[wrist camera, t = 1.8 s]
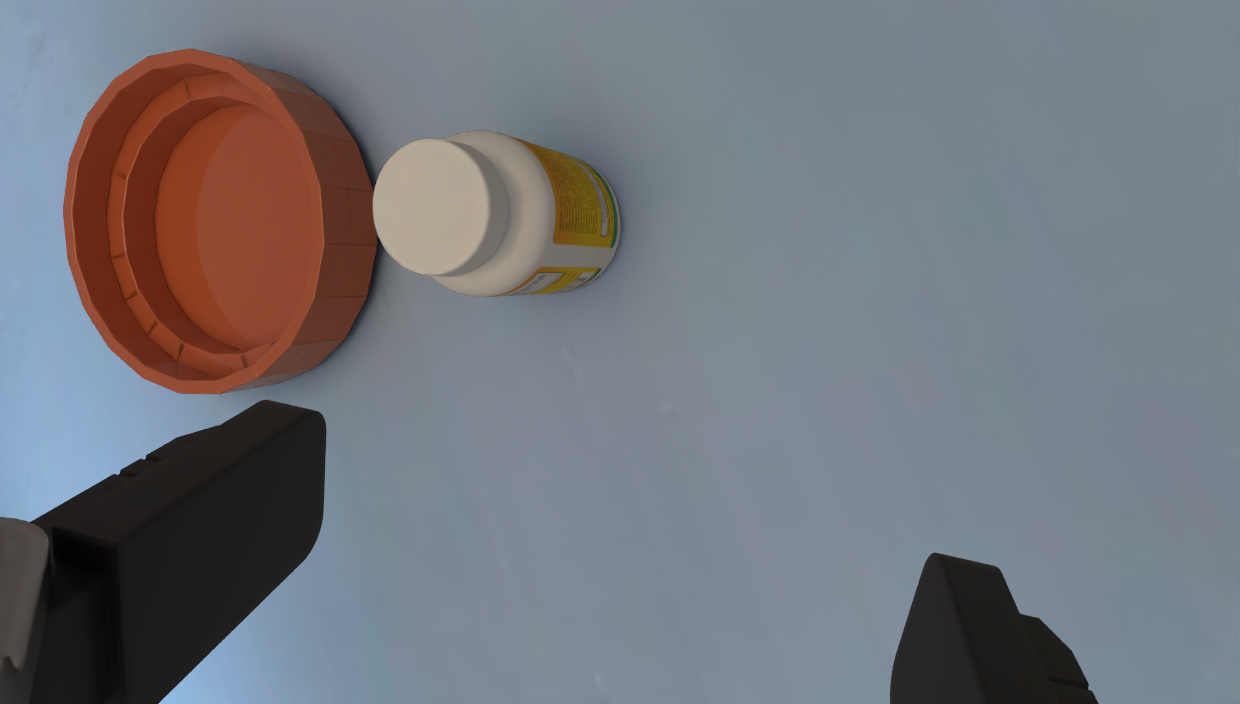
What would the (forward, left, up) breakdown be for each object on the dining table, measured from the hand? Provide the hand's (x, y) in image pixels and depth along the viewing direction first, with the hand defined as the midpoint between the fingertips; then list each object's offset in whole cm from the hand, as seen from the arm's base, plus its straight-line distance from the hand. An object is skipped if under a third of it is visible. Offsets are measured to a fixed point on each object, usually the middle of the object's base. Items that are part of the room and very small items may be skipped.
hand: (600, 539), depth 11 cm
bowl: (-14, -22, -21) cm, 33 cm away
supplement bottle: (-8, -7, -21) cm, 24 cm away
